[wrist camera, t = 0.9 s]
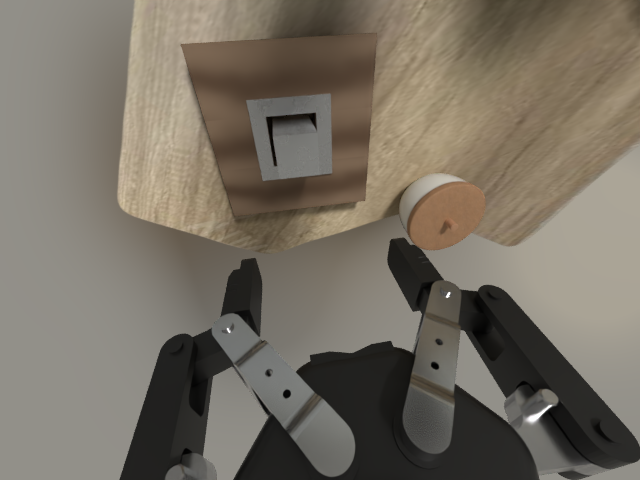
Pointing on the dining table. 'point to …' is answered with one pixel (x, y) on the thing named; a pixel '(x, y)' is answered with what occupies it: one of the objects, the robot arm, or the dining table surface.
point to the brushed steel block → (296, 146)
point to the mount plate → (287, 99)
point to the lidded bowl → (440, 210)
